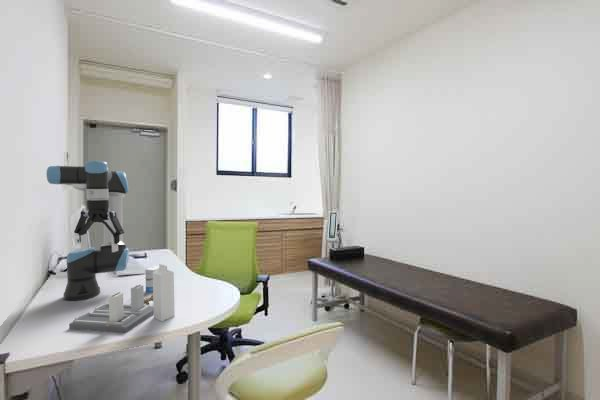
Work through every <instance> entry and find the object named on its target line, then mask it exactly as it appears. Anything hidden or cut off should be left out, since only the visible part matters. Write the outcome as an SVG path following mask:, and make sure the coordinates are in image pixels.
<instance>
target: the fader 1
mask: <svg viewBox="0 0 600 400" xmlns="http://www.w3.org/2000/svg"><path fill="white" fill-rule="evenodd" d="M108 304H109V320H110V322H118V321H119V320H121V319H123V318H124V306H123V304H124V292H123V293H122V292H120V291H119V292H115V293H113V294H110V295H109V296H108Z"/></svg>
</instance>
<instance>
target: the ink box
mask: <svg viewBox="0 0 600 400" xmlns="http://www.w3.org/2000/svg"><path fill="white" fill-rule="evenodd" d="M158 268H159V265H154V266H151V267H148V268H146V269H144V270H145V271H144V272H145V292H147V293H153V272H154V271H156V270H157V269H158Z"/></svg>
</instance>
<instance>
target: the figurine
mask: <svg viewBox="0 0 600 400" xmlns="http://www.w3.org/2000/svg"><path fill="white" fill-rule="evenodd" d="M151 301H152V302H153V294H151V296H150V297H146V298H145V299H144V305H145V306H147V305H150V302H151ZM129 305H131V303H130V304H129Z"/></svg>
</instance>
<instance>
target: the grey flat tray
mask: <svg viewBox="0 0 600 400" xmlns="http://www.w3.org/2000/svg"><path fill="white" fill-rule="evenodd" d="M123 306H124V318H123V319H121V320H119V321H118V322H110V320H109V302H105V303H103V304H101V305H99V306H96V307H95V308H94V309H93V312H90V311H86V312H84V313H82V314H81V315H78V316H77V317H74V318H73V320H72V321H71V322H70V323H69V325H68V326H69V328H68V329H70V330H80V331H96V332H109V333H110V332H111V333H128V332H130V331H131V330H133V329H134V328H136V327H137V326H139V325H141V324H142V323H144V321H146V320H147V319H149V318H150V317H152V316H154V306H151V304H148V305H146V304H144V308H142V309H140V310H139V311H138V312H131V305H130V304H125V303H123Z"/></svg>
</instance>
